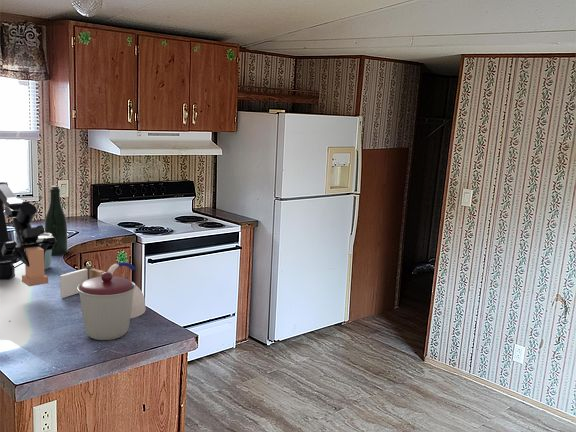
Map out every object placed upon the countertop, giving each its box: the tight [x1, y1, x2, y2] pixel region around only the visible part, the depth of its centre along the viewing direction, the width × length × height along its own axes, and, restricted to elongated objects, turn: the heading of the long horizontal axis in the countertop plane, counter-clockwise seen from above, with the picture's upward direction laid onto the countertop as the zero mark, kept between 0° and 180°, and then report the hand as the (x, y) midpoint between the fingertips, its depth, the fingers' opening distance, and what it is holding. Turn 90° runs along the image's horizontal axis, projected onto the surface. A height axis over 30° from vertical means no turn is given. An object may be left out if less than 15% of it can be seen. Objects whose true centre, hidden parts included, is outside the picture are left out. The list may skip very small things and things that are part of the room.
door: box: [59, 268, 88, 298], centre depth 224 cm, size 12×3×9 cm, turn 151°
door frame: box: [85, 264, 105, 279], centre depth 232 cm, size 22×2×10 cm, turn 61°
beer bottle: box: [44, 185, 69, 256], centre depth 279 cm, size 10×10×33 cm
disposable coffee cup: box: [36, 232, 53, 270], centre depth 256 cm, size 11×11×15 cm
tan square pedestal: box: [21, 247, 49, 287], centre depth 216 cm, size 7×7×13 cm
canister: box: [77, 271, 137, 341], centre depth 187 cm, size 18×18×21 cm
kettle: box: [107, 261, 147, 320], centre depth 209 cm, size 20×21×18 cm
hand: (36, 265), depth 215 cm, fingers closed on tan square pedestal, 5 cm apart
